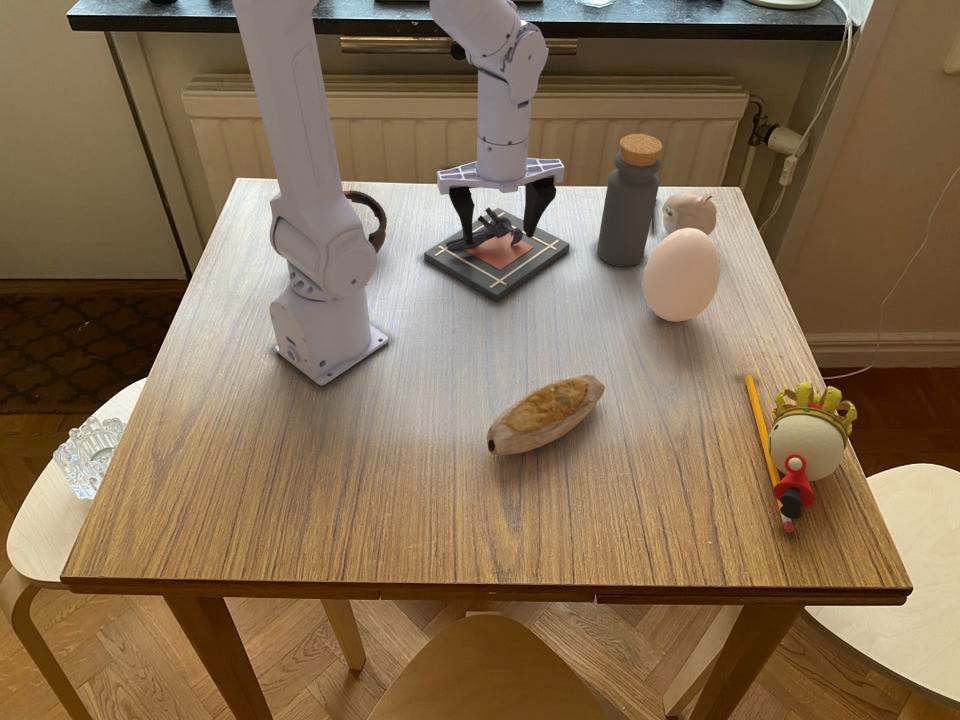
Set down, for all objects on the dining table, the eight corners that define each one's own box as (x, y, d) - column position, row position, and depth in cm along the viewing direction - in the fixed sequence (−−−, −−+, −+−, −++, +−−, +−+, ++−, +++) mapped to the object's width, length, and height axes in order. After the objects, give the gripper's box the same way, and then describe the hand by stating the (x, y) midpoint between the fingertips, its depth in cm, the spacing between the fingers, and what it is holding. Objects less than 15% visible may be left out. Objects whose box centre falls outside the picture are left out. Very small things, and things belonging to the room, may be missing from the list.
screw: (654, 203, 98) (647, 200, 98) (658, 197, 98) (651, 194, 98) (654, 236, 93) (647, 233, 93) (658, 231, 92) (651, 228, 92)
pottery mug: (349, 218, 94) (372, 178, 88) (381, 277, 92) (407, 240, 86) (266, 231, 87) (285, 187, 81) (299, 294, 85) (321, 255, 79)
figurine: (446, 238, 80) (460, 279, 82) (525, 209, 81) (537, 251, 83) (433, 219, 91) (446, 256, 93) (502, 193, 92) (513, 231, 94)
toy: (747, 523, 63) (778, 406, 72) (837, 544, 60) (857, 418, 69) (748, 472, 59) (780, 354, 68) (844, 491, 55) (865, 364, 64)
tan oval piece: (616, 412, 70) (623, 382, 67) (503, 480, 64) (505, 450, 61) (581, 381, 73) (586, 350, 70) (470, 443, 67) (470, 412, 64)
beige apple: (658, 246, 90) (671, 192, 85) (657, 219, 95) (670, 165, 89) (710, 252, 90) (727, 197, 84) (707, 224, 94) (723, 170, 88)
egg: (701, 345, 78) (730, 262, 70) (629, 329, 79) (649, 245, 71) (709, 301, 83) (736, 219, 75) (641, 286, 85) (660, 204, 77)
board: (496, 302, 82) (497, 294, 81) (423, 259, 88) (423, 251, 87) (569, 250, 90) (570, 243, 89) (497, 213, 95) (498, 206, 94)
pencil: (783, 532, 61) (785, 527, 60) (743, 379, 74) (745, 374, 73) (792, 532, 61) (795, 528, 60) (751, 379, 74) (753, 375, 73)
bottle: (652, 261, 88) (678, 151, 78) (610, 271, 87) (631, 160, 76) (628, 235, 92) (650, 127, 82) (588, 244, 91) (605, 135, 80)
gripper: (444, 157, 73) (446, 263, 83) (577, 144, 76) (564, 248, 85) (432, 125, 78) (435, 229, 88) (557, 114, 80) (547, 216, 90)
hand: (498, 236), depth 87 cm, fingers open, 7 cm apart
